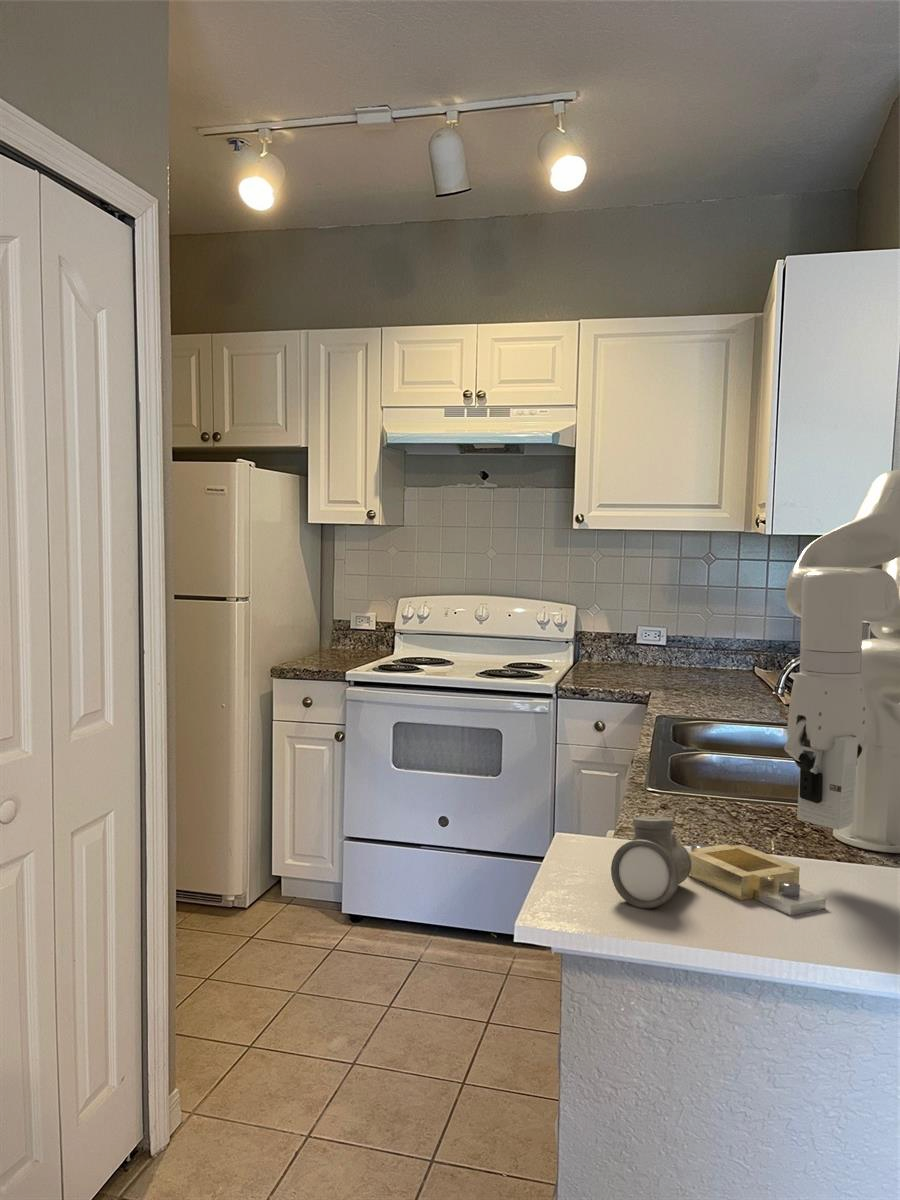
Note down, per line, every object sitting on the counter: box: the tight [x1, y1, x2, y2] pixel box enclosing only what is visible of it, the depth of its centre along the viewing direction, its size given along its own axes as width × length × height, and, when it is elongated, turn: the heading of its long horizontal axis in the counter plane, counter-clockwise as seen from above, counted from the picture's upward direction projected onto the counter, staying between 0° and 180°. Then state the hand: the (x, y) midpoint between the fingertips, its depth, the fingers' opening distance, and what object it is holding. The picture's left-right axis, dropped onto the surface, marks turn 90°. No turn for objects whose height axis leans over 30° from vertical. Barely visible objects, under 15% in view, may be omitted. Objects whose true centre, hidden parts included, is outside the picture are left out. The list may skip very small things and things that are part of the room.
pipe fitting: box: [610, 815, 692, 909], centre depth 111 cm, size 12×8×10 cm
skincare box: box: [796, 736, 858, 830], centre depth 118 cm, size 6×4×12 cm
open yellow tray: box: [685, 843, 827, 916], centre depth 117 cm, size 10×22×3 cm, turn 26°
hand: (826, 796), depth 118 cm, fingers closed on skincare box, 5 cm apart
